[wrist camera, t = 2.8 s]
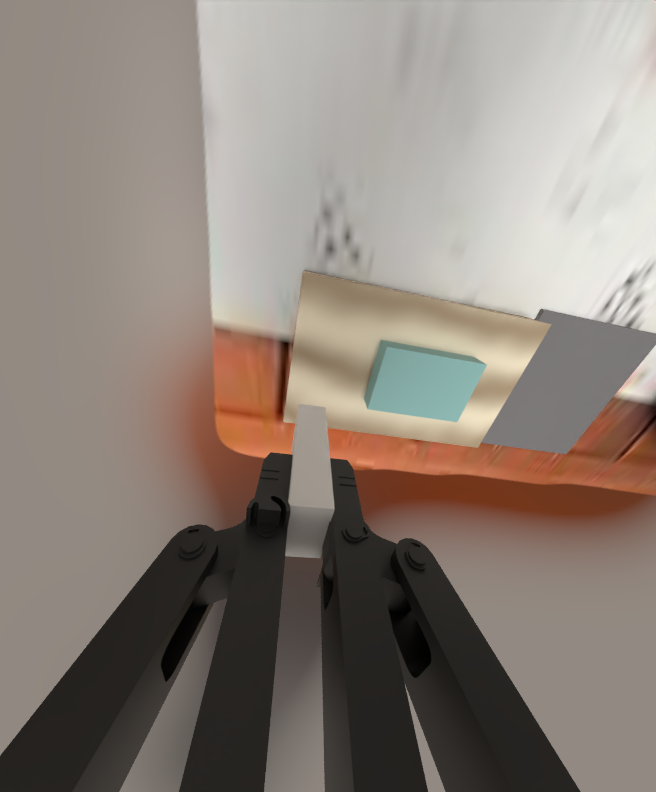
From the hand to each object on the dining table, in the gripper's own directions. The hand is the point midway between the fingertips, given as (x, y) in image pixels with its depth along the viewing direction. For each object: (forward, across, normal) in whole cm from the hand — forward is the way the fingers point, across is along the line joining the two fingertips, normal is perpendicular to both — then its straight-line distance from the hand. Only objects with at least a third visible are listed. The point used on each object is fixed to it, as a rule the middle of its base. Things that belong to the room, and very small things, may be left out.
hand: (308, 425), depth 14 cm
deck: (+13, +9, 0) cm, 16 cm away
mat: (+12, +28, 0) cm, 31 cm away
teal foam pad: (+10, +10, 0) cm, 14 cm away
